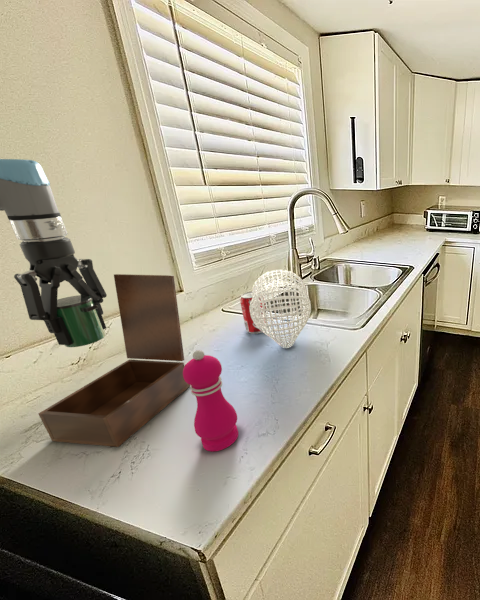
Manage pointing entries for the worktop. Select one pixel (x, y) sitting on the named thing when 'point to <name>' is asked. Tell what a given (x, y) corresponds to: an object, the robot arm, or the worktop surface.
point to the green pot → (80, 319)
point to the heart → (257, 313)
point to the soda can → (248, 320)
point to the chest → (115, 403)
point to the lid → (149, 316)
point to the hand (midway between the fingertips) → (83, 335)
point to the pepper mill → (210, 403)
